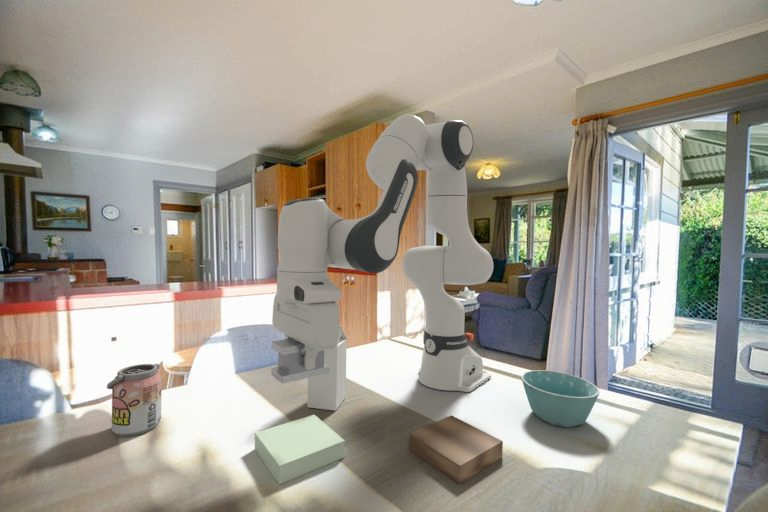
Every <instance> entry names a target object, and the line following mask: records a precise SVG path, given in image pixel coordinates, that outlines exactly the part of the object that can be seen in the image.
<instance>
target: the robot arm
mask: <svg viewBox="0 0 768 512" xmlns="http://www.w3.org/2000/svg"><path fill="white" fill-rule="evenodd" d="M473 149H474V136H473V132H472V130H471V128H470V126H469V125H468V124H467V123H466V122H465V121H464V120H459V119H457V120H456V119H455V120H454V119H451V120H450V119H449V120H448V121H444V122H436V123H435V122H434V123H430V124H426V123H425V122H424V120H422V119H421V118H420V117H418V116H416V115H413V114H408V113H407V114H402V115H399V116H398V117H396V119H395V120H393V121H392V122H391V123H390V124H388V125H387V127H386V128H385V129H384V130H383V131H382V132H381V134H380V135H379V137H378V138H377V139H376V141H375V142H374V143H373V145H372V147H371V149H370V150H369V153H367V154H368V155H367V157H366V160H365V167H366V173H367V174H368V177H369V179H370V180H371V181H372V182H373V184H375V185H376V186H377V187H378V188H380V189H381V190H383V191H382V194H381V196H380V199H379V201H378V203H377V206H376V207H375V209H374V211H372V212H371V213H370V214H368V215H366V216H363V217H360V218H352V219H351V218H350V219H345V218H344V217H342V216H340V215H338V214H337V213H335V212H334V211H333V210H331V208H330V207H329V206H328V205H327V204H326V201H325V199H323V198H320V197H305V198H298V199H292V200H289V201H286V202H285V204H283V206H282V208H281V210H280V215H279V221H278V229H277V249H278V253H279V262H278V265H277V270H276V293H275V296H274V299H273V306H272V317H271V318H272V320H271V322H272V326H273V329H274V331H275V330H276V331H277V332H280V333H282V334H283V335H284V340H285V339H292V338H293V339H295V340H297V341H299V342H301V343H303V344H305V350H306V354H305V358H302V363H303V364H302V366H303V367H304V368H305V369H307V370H310V369H314V368H315V358H316V357H317V354H318V352H319V351H322V350H328V349H333V348H335V346H336V345H337V343H338V339H339V326H340V315H341V314H340V308H339V307H340V306H339V304H338V302H340V301H341V299H342V290H341V288H340V287H338V286H337V285H336V284H335V283H334V282H333V281H332V280H331V279H330V278H329V277H328V267H330V268H338V269H342V270H343V269H345V270H354V271H356V270H357V271H359V272H360V271H361V272H365V273H369V274H379V273H382V272H384V271H385V270H387V269H388V268H389V267H391V265H392V264H393V262H394V261H395V259H396V257H397V254H398V252H399V247H400V239H401V235H402V231H403V227H404V224H405V222H406V219H407V216H408V214H409V212H410V211H409V210H410V208H411V205H412V202H413V199H414V197H415V193H416V190H417V186H418V182H419V181H418V180H419V174H418V171H428V172H429V177H428V185H427V201H426V202H427V206H426V207H427V208H426V209H427V210H426V211H427V214H426V216H427V220H426V221H427V225H428V226H429V227H430V228H431V230H432V231H434V232H436V233H438V234H440V235H442V236H443V237H445V238H446V239H447V242H448V245H422V246H416V247H411V248H409V249H407V250H406V252H405V253H404V255H403V257H402V262H401V268H402V271H403V273H404V275H405V277H406V278H407V280H409V281H410V282H411V283H412V284H413V285H414V286H415V287H416V288H417V290H418V292H419V294H420V295H421V298H422V300H423V304H424V314H425V315H424V316H425V318H424V319H425V329H424V331H423V337H422V338H423V349H422V355H421V364H420V368H419V369H418V381H419V382H420V384H422V385H424V386H425V387H428V388H431V389H435V390H440V391H450V392H451V391H455V392H457V391H459V392H463V393H464V392H465V393H470V392H472V391H473V390H476V389H477V388H478V387H479V385H480V386H481V385H483V384H484V383H486V382H487V381H489V380H490V379H491V378H492V375H491V374H490V373H489V372H488V371H486V370H484V367H483V366H484V365H483V359H482V357H481V355H480V354H478V353H477V352H476V351H475V350H474V349H472V347H471V346H470V345H469V342H468V340H469V341H473V340H474V337H475V335H474V333H469V332H466V333H465V323H466V322H465V317H466V315H465V314H466V312H465V311H466V309H465V307H464V304H463V303H462V302H461V301H460V300H459V299H458V298H456V297H454V296H452V295H450V294H449V293H447V292H446V289H445V288H444V285H456V286H457V285H458V286H473V285H481V284H485V283H487V282H488V281H489V280H490V278H491V277H492V274H493V272H494V265H495V264H494V261H493V260H494V259H493V257H492V255H491V254H490V252H489V251H488V250H487V249H485V248H484V247H483V246H482V245H481V244H480V243H478V241H477V240H476V238H474V236H473V234H472V231H471V229H470V225H469V218H468V184H467V181H468V180H467V173H466V168H465V167H466V164H467V161H469V160H470V157H471V155H472V152H473ZM488 379H489V380H488ZM485 381H486V382H485ZM482 383H483V384H482ZM476 387H477V388H476Z"/></svg>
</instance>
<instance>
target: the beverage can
mask: <svg viewBox="0 0 768 512" xmlns="http://www.w3.org/2000/svg"><path fill="white" fill-rule="evenodd" d="M159 368H160V364H159V363H153V364H152V363H144V364H143V363H142V364H134V365H131V366H126V367H124V368H122V369H120V370H118V371H117V373H116V376H115V377H114V379H112V380H111V381H110V382H109V383H107V385H106V389H108V390H111V396H112V397H111V430H112V431H111V432H112V433H113V434H114V435H116V436H117V437H121V438H122V437H123V438H127V437H136V436H139V435H144V434H146V433H148V432H150V431H152V430H153V429H155V428H156V427H157V426H158V425H159V424H160V423H161V420H162V388H163V387H162V386H163V385H162V381H163V378H162V376H161V375H160V373H158V370H159Z"/></svg>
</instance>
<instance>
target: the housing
mask: <svg viewBox="0 0 768 512" xmlns="http://www.w3.org/2000/svg"><path fill="white" fill-rule="evenodd" d="M271 348H272V349H273V350H274V351H275V352H277V353H278V354H277V355H278V356H277V357H278V358H277V366H275V367H272V368H271V370H270V371H271V376H272V377H274V378H275V379H276V380H277V381H279V383H281V384H286V383H291V382H295V381H299V380H305V379H308V378H309V377H313V376H318V375H322V374H326V373H330V366H328V365H327V364H325V363H324V350H322V351H319V352H318V354H317V357H316V358H315V368H314V369H310V370H307V369H305V368H304V367H303V366H302V364H303V363H302V358H305V354H306V350H305V344H303V343H301V342H299V341H297V340H295V339H293V338H292V339H285V338H284V339H279V340H272V341H271Z"/></svg>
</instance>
